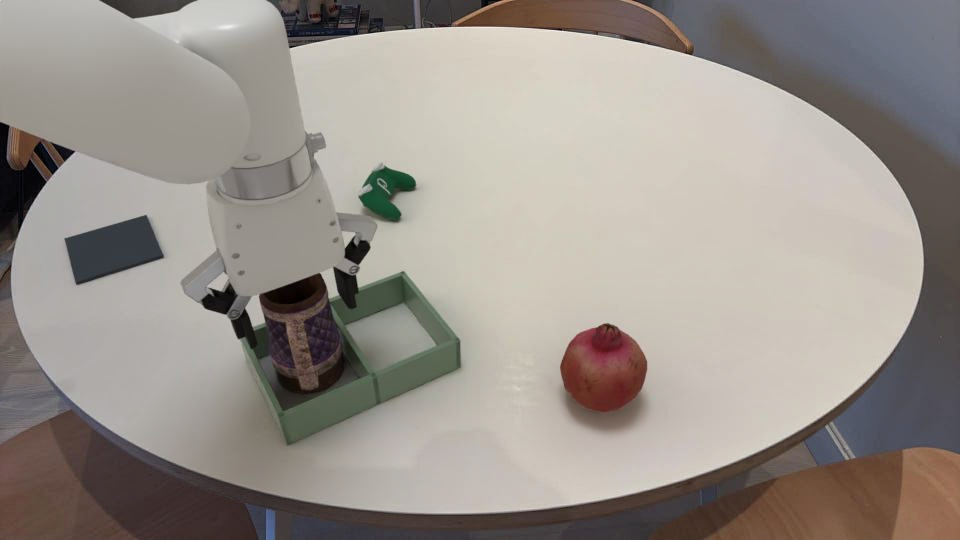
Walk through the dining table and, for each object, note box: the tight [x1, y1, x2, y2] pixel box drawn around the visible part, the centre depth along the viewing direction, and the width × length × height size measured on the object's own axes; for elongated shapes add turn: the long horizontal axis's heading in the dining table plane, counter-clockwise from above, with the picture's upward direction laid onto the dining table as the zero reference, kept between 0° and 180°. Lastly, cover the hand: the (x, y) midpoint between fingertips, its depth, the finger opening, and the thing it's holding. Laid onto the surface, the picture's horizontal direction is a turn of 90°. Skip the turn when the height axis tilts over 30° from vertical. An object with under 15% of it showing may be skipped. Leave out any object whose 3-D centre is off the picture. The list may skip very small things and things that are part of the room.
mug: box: [258, 272, 345, 394], centre depth 67 cm, size 10×7×12 cm
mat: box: [64, 214, 165, 285], centre depth 88 cm, size 10×10×1 cm
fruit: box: [559, 322, 648, 414], centre depth 66 cm, size 8×8×10 cm
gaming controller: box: [358, 162, 417, 221], centre depth 95 cm, size 9×4×6 cm
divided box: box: [239, 270, 462, 446], centre depth 72 cm, size 19×13×4 cm
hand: (299, 319), depth 66 cm, fingers open, 9 cm apart
